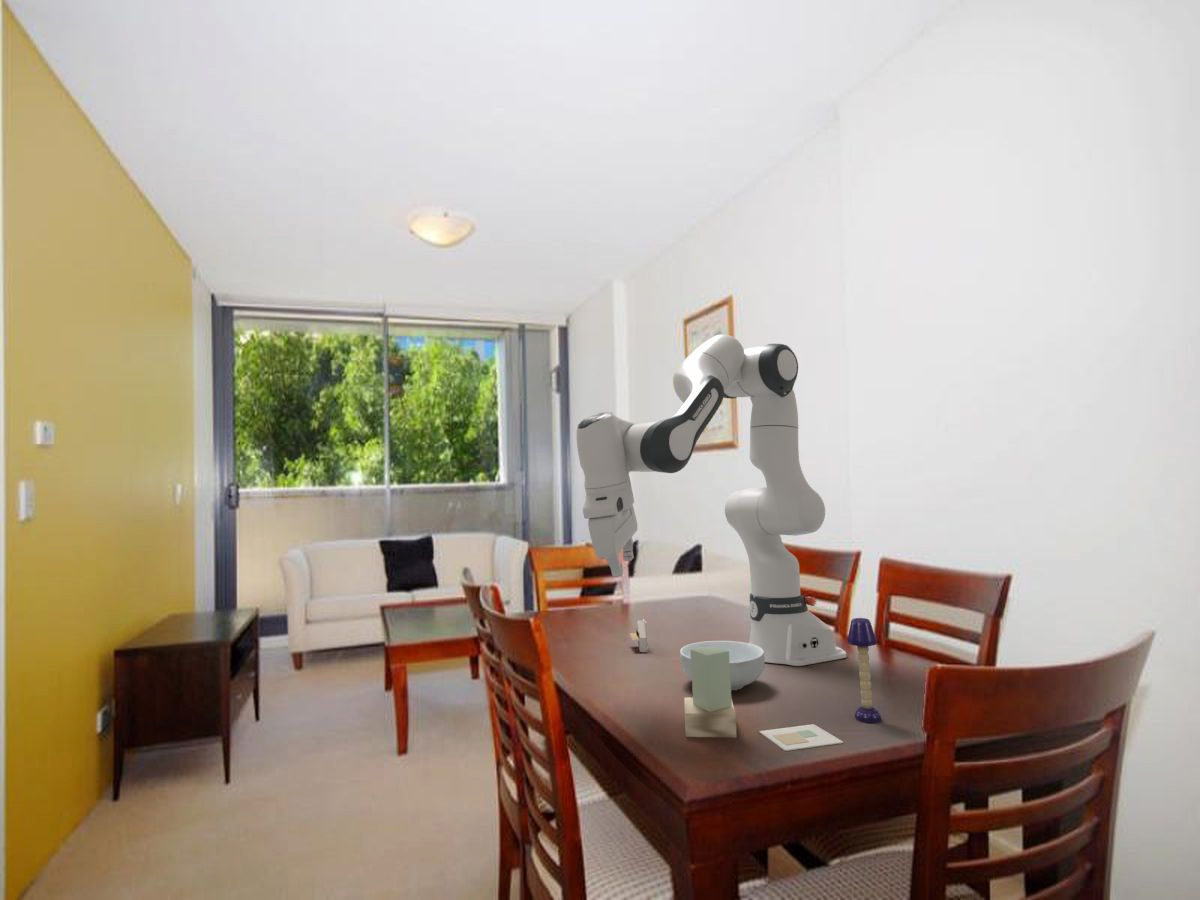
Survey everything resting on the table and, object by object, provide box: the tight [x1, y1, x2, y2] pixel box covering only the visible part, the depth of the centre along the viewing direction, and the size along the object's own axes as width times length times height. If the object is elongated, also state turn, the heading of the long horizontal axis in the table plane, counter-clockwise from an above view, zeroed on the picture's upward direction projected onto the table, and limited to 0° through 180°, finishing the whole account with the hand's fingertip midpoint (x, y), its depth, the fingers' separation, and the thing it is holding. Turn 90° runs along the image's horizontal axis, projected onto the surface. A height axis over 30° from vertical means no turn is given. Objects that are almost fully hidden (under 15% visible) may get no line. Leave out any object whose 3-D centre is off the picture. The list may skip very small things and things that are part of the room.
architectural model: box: [629, 618, 648, 653], centre depth 165 cm, size 3×7×7 cm, turn 4°
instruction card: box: [758, 723, 844, 752], centre depth 106 cm, size 10×8×1 cm
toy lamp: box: [847, 617, 882, 724], centre depth 114 cm, size 5×5×17 cm
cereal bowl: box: [679, 640, 765, 692], centre depth 134 cm, size 17×17×7 cm
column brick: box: [691, 646, 733, 712], centre depth 111 cm, size 4×4×9 cm
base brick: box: [683, 697, 737, 738], centre depth 111 cm, size 8×8×4 cm
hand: (623, 567), depth 130 cm, fingers open, 8 cm apart
